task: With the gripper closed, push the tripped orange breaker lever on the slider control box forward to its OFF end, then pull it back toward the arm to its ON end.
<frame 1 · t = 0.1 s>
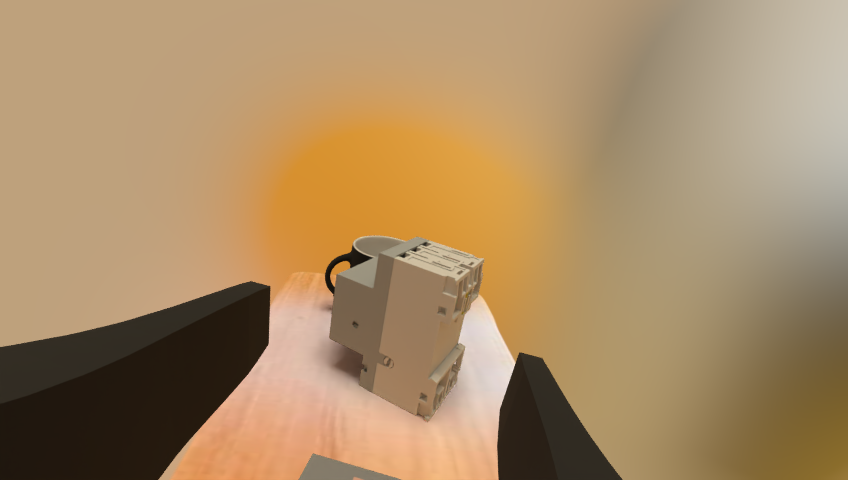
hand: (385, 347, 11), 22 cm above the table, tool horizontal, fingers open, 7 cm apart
mug: (365, 314, 55), on the table
circuit breaker: (385, 372, 44), on the table
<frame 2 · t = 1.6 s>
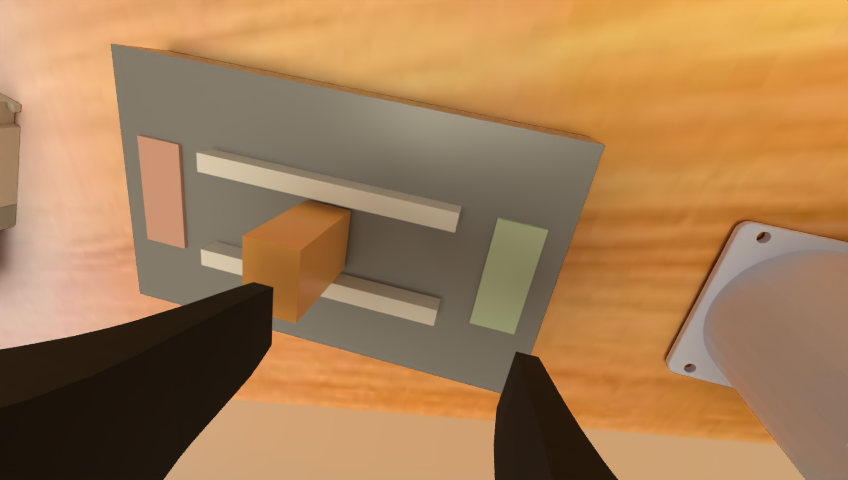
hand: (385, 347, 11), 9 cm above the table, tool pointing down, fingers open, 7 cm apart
breaker lever: (301, 254, 15), point 5 cm above the table, slide at 0.0 cm
slider control box: (351, 213, 20), on the table
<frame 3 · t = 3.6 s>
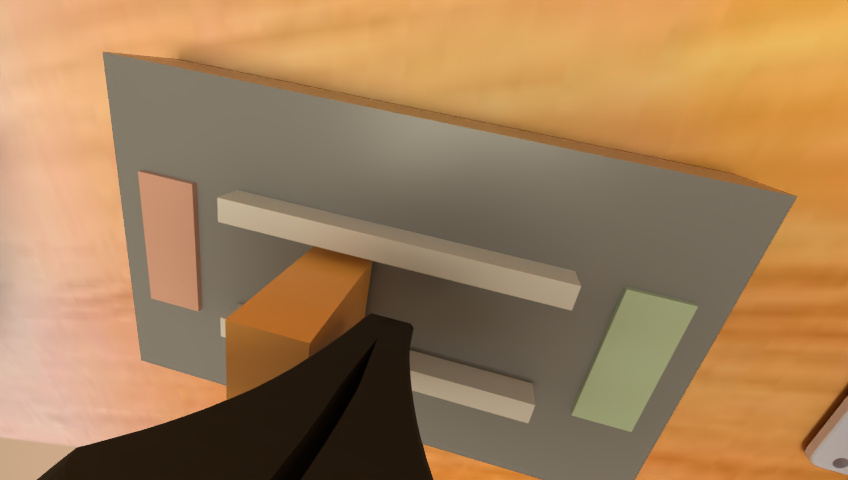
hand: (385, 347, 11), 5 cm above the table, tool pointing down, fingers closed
breaker lever: (309, 326, 11), point 5 cm above the table, slide at 1.6 cm, touching gripper
slider control box: (406, 263, 16), on the table
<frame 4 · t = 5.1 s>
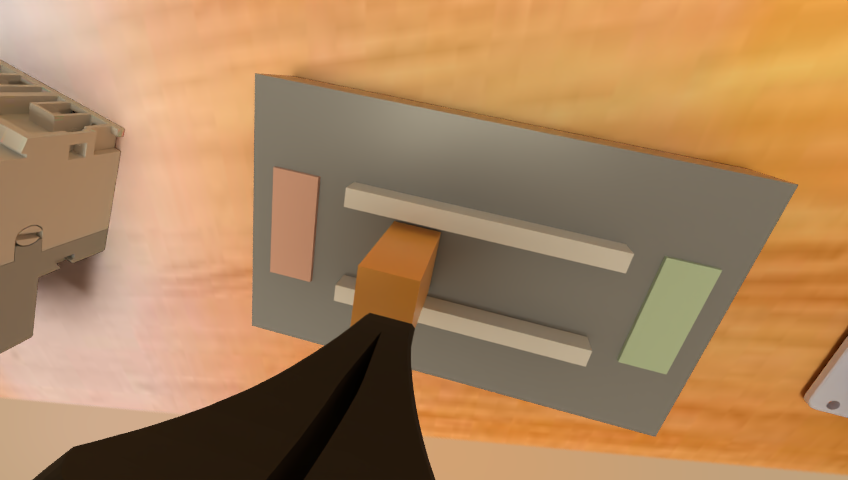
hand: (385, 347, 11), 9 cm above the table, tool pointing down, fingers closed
circuit breaker: (54, 205, 24), on the table
breaker lever: (399, 280, 15), point 5 cm above the table, slide at 2.6 cm
slider control box: (475, 243, 19), on the table
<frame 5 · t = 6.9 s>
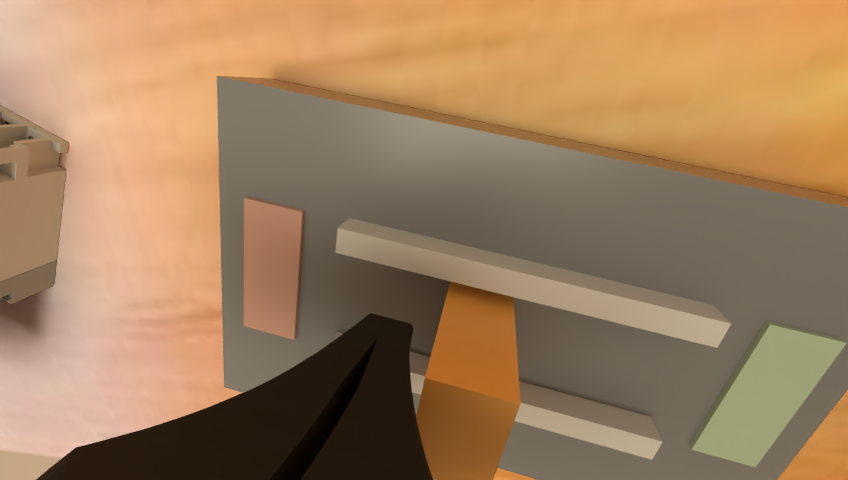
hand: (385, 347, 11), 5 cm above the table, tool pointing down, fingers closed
breaker lever: (465, 371, 11), point 5 cm above the table, slide at 1.0 cm, touching gripper
slider control box: (500, 287, 15), on the table
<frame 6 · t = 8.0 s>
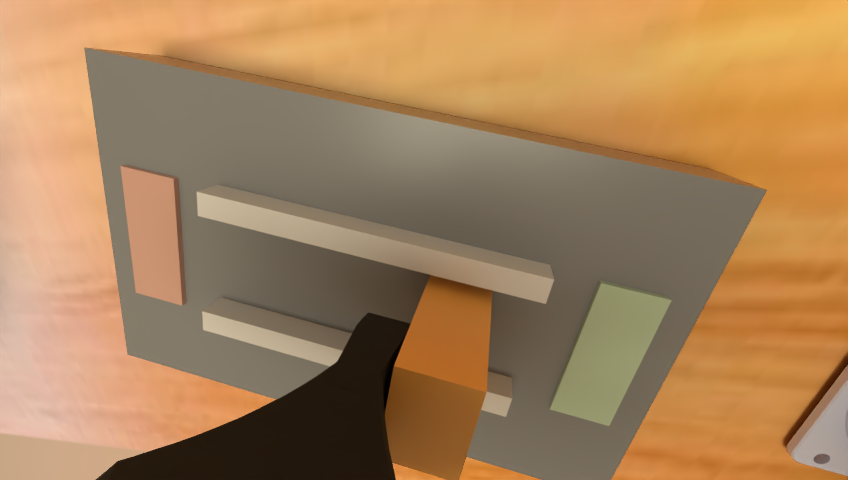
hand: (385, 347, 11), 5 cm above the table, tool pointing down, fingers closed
breaker lever: (442, 362, 11), point 5 cm above the table, slide at -3.0 cm, touching gripper
slider control box: (389, 258, 16), on the table
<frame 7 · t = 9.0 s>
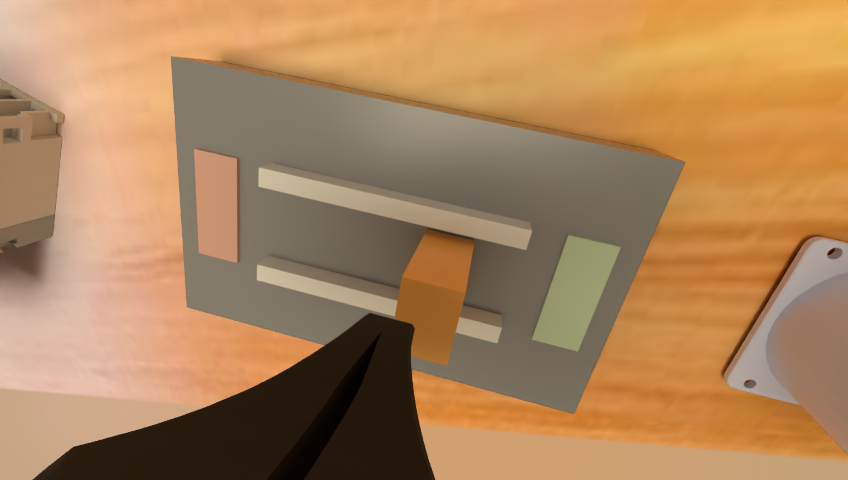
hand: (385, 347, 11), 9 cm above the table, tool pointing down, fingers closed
circuit breaker: (3, 192, 24), on the table
breaker lever: (436, 289, 14), point 5 cm above the table, slide at -2.6 cm
slider control box: (403, 226, 20), on the table
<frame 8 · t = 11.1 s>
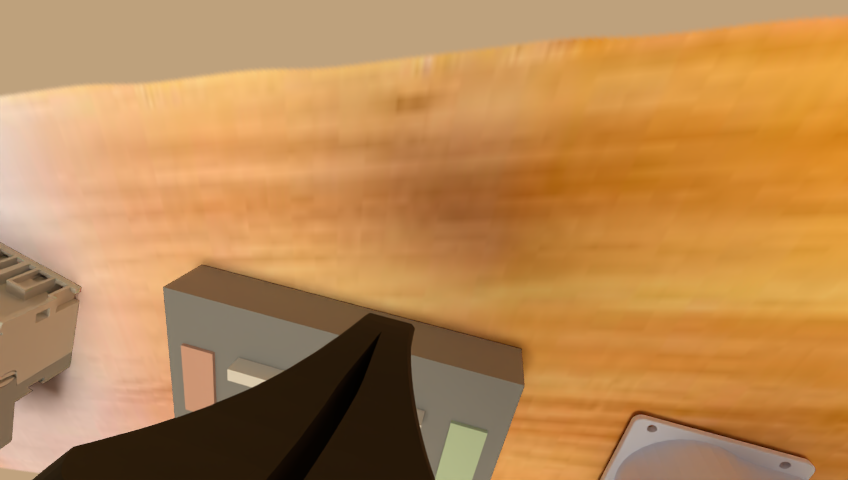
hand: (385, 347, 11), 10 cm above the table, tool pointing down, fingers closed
circuit breaker: (30, 332, 30), on the table
slider control box: (344, 382, 25), on the table
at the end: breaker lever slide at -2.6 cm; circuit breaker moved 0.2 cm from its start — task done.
